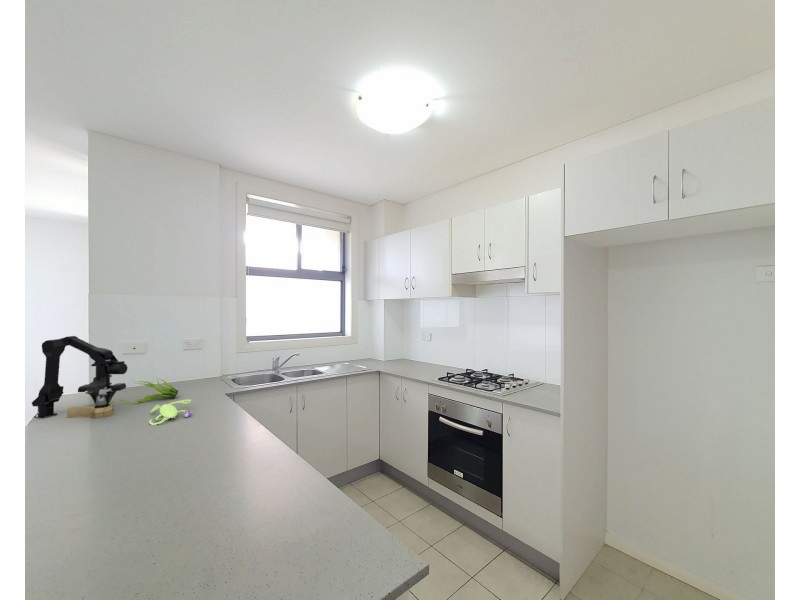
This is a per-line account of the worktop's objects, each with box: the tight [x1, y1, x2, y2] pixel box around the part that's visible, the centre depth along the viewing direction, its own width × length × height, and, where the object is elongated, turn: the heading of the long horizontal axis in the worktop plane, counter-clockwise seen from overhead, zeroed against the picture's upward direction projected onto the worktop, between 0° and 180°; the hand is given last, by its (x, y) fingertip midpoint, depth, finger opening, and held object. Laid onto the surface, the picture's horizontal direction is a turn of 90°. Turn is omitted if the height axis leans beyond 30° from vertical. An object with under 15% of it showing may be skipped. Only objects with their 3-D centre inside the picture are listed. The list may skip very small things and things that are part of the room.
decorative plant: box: [111, 377, 179, 404], centre depth 194 cm, size 18×30×15 cm, turn 95°
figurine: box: [148, 399, 193, 426], centre depth 172 cm, size 18×27×6 cm
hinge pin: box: [96, 393, 109, 408], centre depth 170 cm, size 5×5×7 cm
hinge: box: [66, 402, 115, 419], centre depth 171 cm, size 18×16×5 cm
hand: (102, 403), depth 170 cm, fingers closed on hinge pin, 5 cm apart
